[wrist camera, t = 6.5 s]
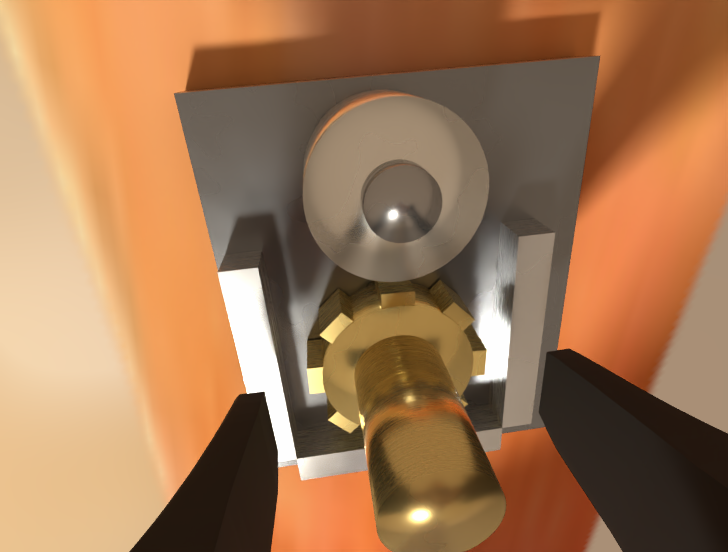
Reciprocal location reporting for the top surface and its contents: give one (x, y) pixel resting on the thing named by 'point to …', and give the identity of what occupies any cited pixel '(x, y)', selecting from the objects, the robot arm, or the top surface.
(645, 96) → the top surface
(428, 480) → the planet gear
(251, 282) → the carrier
